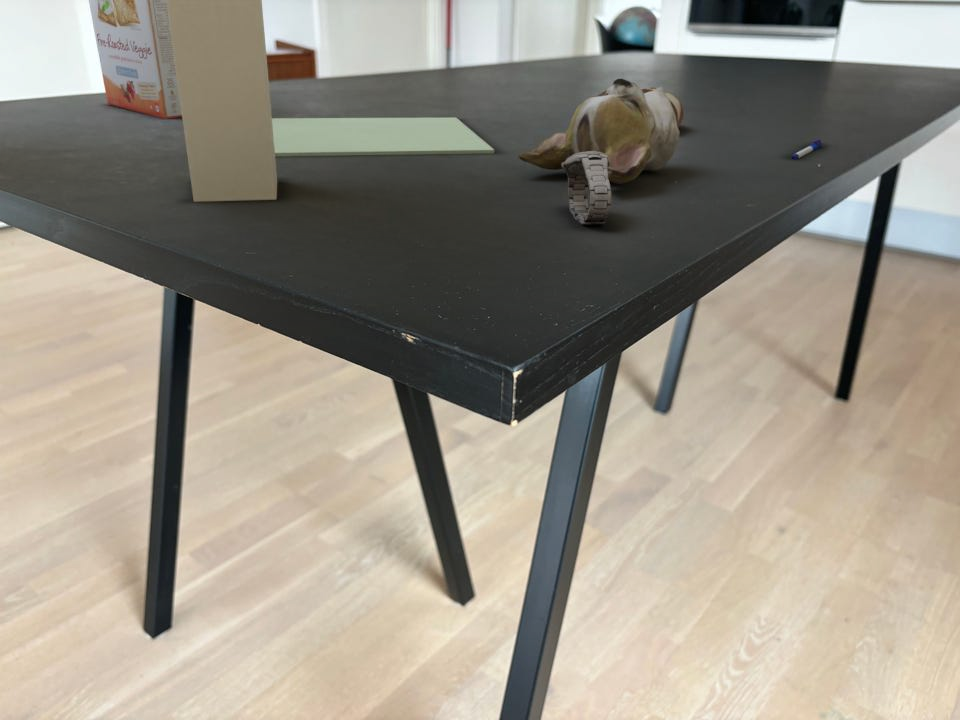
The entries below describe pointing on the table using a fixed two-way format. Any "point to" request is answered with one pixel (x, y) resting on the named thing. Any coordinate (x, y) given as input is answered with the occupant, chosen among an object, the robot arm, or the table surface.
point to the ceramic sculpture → (616, 132)
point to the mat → (374, 137)
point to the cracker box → (137, 56)
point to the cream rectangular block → (224, 98)
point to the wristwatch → (588, 187)
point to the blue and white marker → (807, 149)
